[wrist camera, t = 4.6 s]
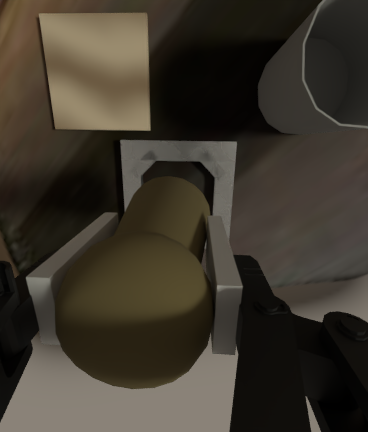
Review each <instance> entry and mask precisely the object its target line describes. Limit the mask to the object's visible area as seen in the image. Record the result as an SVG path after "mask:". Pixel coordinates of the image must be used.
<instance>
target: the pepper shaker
mask: <svg viewBox="0 0 368 432" xmlns="http://www.w3.org/2000/svg"><path fill="white" fill-rule="evenodd" d="M208 216H210V209H209V205H208V203H207V201H206V199H205V197H204V195H203V193H202V192H201V191H200V190H199V189H198V188H197V187H196V186H195V185H193V184H191V183H190V182H188V181H186V180H184V179H182V178H176V177H170V176H166V177H159V178H154V179H152V180H150V181H148V182H146V183H144V184H143V185H142V186H141V187H140V188H139V189H138V190H137V191H136V192H135V193H134V195H133V197H132V199H131V201H130V203H129V205H128V207H127V209H126V211H125V213H124V215H123V217H122V219H121V221H120V223H119V225H118V227H117V229H116V231H115V233H114V235H113V236H111V237H109V238H107V239H105V240H103V241H101V242H99V243H97V244H95V245H92V246H91V247H90V248H89V249H88V250H87V251H86V252H85V253H84V254H83V255H82V256H81V257H80V258H79V259H78V260H77V261H76V262H75V263H74V264H73V265H72V266H71V267H70V268H69V269H68V271H67V273H66V275H65V277H64V279H63V282H62V284H61V287H60V289H59V292H58V294H57V297H56V300H55V331H56V335H57V338H58V340H59V343H60V345H61V347H62V349H63V351H64V352H65V354H66V355H67V356H68V357H69V358H70V359H71V361H72V362H73V363H74V364H75V365H76V366H77V367H78V368H80V369H81V370H83V371H84V372H86V373H87V374H88V375H90V376H91V377H93V378H95V379H97V380H100V381H102V382H105V383H107V384H110V385H112V386H118V387H124V388H130V389H141V388H155V387H158V386H161V385H164V384H167V383H170V382H173V381H175V380H176V379H178V378H179V377H181V376H182V375H184V374H185V373H187V372H188V371H189V370H190V369H191V367H192V366H193V365H194V363H195V362H196V361H197V359H198V358H199V356H200V355H201V354H202V352H203V351H204V349H205V348H206V347H207V345H208V341H209V337H210V333H211V329H212V324H213V320H214V303H213V296H212V289H211V283H210V281H209V279H208V277H207V275H206V273H205V272H204V270H203V268H202V266H201V262H202V258H203V253H204V248H205V244H206V239H207V218H208Z"/></svg>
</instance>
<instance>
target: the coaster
mask: <svg viewBox="0 0 368 432" xmlns="http://www.w3.org/2000/svg"><path fill="white" fill-rule="evenodd" d="M39 18H40V25H41V32H42V39H43V46H44V53H45V60H46V67H47V74H48V81H49V88H50V95H51V102H52V109H53V116H54V123H55V129H63V130H135V131H150V93H149V55H148V18H147V14H146V13H63V14H39Z"/></svg>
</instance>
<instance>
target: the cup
mask: <svg viewBox="0 0 368 432" xmlns="http://www.w3.org/2000/svg"><path fill="white" fill-rule="evenodd" d="M258 105H259V108H260V110H261V112H262V114H263V116H264V118H265V120H266V122H267V123H268V124H269V125H271V126H272V127H274V128H275V129H277V130H278V131H280V132H281V133H288V134H299V135H302V134H313V133H324V132H335V131H347V130H358V129H368V0H323V1H322V2H321V3H320V4H319V5H318V6H317V7H316V9H315V10H314V11H313V12H312V13H311V14H310V15H309V16H308V18H307V19H306V20H305V21H304V22H303V23H302V24H301V25H300V27H299V28H298V29H297V30H296V31H295V32H294V33H293V35H292V36H291V37H290V38H289V39H288V40H287V41H286V42H285V44H284V45H283V46H282V47H281V48H280V49H279V50H278V51H277V53H276V54H275V55H274V56H273V57H272V58H271V59H270V61H269V62H268V63H267V64H266V65H265V68H264V71H263V73H262V76H261V79H260V81H259V84H258Z"/></svg>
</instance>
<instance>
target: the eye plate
mask: <svg viewBox="0 0 368 432" xmlns="http://www.w3.org/2000/svg"><path fill="white" fill-rule="evenodd" d="M120 143H121V159H122V174H123V190H124V205H125V211H126V209H127V207H128V205H129V203H130V201H131V199H132V197H133V195H134V193H135V192H136V191H137V190H138V189H139V188H140V187H141V186H142V185H143V174H144V173H145V172H146V171H147V170H148V169H149V168H150V167H151V166H152V165H153V164H154V163H155V162H156V161H200V162H201V163H202V164H203V165H204V166H205V167H206V168H207V169H208V170H209V171H210V173H211V174H212V175H213V176H214V191H213V209H212V216H221V218H222V221H223V224H224V227H225V231H226V234H227V237H228V240H229V233H230V220H231V208H232V195H233V183H234V170H235V158H236V146H237V142H213V141H149V140H120ZM205 249H206V244H205Z"/></svg>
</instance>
